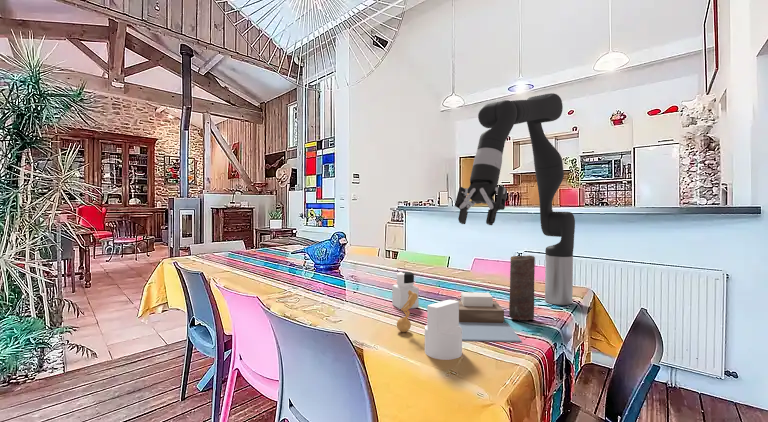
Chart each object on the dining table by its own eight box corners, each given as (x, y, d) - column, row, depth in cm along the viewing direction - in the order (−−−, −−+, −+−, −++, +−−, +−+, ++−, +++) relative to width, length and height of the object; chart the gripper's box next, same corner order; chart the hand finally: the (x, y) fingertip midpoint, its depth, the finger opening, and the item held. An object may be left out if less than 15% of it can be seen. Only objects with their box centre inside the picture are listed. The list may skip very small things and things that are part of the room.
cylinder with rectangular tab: (440, 343, 103) (440, 297, 102) (469, 352, 96) (469, 303, 96) (417, 352, 96) (417, 303, 96) (446, 363, 90) (446, 310, 90)
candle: (536, 324, 118) (536, 257, 118) (510, 322, 120) (511, 257, 119) (531, 317, 126) (532, 254, 125) (507, 315, 127) (508, 254, 127)
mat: (453, 323, 119) (453, 321, 119) (507, 324, 118) (507, 323, 118) (459, 340, 104) (459, 339, 104) (521, 342, 103) (521, 340, 103)
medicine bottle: (410, 303, 143) (410, 270, 143) (418, 307, 137) (418, 273, 136) (392, 304, 141) (392, 271, 141) (399, 309, 134) (399, 274, 134)
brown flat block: (452, 311, 132) (453, 300, 132) (495, 312, 131) (495, 300, 131) (456, 322, 120) (457, 309, 120) (503, 323, 119) (504, 310, 119)
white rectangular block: (461, 301, 130) (461, 292, 130) (488, 301, 129) (488, 292, 129) (463, 306, 124) (463, 296, 124) (492, 306, 123) (492, 297, 123)
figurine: (403, 326, 116) (403, 286, 116) (422, 329, 113) (422, 288, 113) (390, 335, 108) (390, 291, 108) (410, 338, 106) (410, 294, 105)
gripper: (516, 171, 106) (506, 229, 103) (472, 174, 117) (461, 227, 113) (503, 160, 101) (491, 220, 98) (457, 164, 112) (445, 219, 108)
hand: (475, 223), depth 106 cm, fingers open, 8 cm apart
